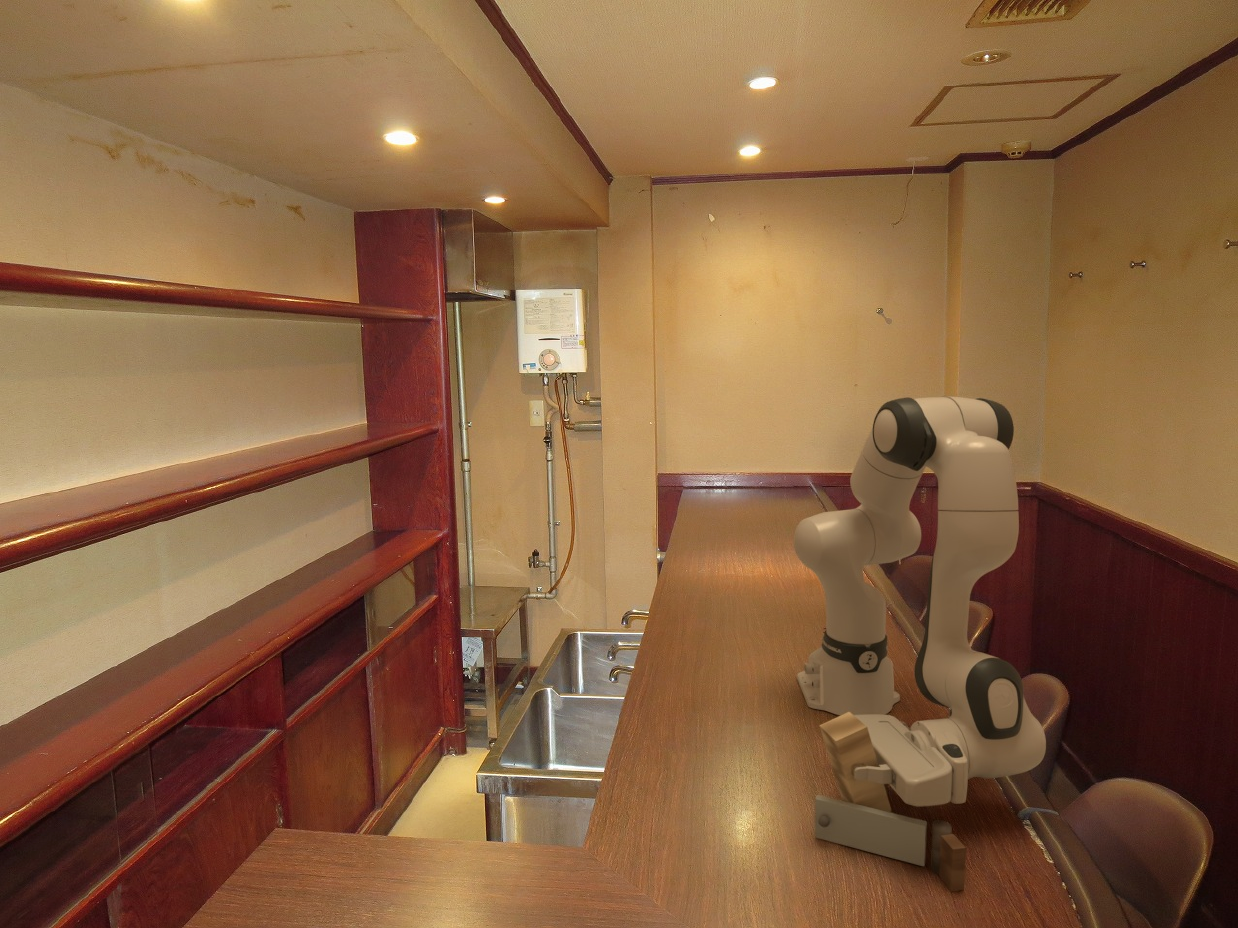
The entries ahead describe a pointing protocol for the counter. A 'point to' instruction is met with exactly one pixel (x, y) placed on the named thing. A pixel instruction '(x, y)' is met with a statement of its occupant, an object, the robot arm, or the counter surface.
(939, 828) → the gate frame
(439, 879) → the counter surface
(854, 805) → the gate
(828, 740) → the beech block
